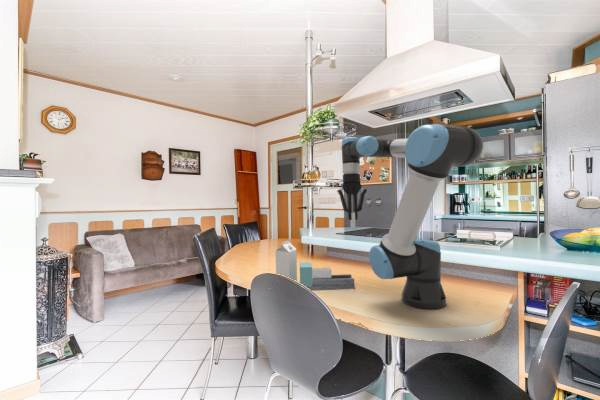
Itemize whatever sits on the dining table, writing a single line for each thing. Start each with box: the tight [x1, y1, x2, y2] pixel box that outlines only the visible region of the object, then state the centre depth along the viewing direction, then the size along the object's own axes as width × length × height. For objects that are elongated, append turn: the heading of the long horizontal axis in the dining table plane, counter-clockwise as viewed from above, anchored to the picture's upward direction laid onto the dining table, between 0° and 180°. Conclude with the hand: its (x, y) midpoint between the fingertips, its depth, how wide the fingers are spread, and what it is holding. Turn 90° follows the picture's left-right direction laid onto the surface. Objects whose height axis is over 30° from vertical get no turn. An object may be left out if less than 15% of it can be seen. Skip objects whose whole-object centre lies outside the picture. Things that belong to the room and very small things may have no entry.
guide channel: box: [307, 273, 356, 291], centre depth 130 cm, size 9×23×4 cm, turn 91°
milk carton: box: [275, 240, 298, 282], centre depth 137 cm, size 7×7×19 cm
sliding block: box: [312, 267, 333, 284], centre depth 130 cm, size 4×12×6 cm, turn 91°
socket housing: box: [299, 261, 313, 287], centre depth 130 cm, size 9×5×8 cm, turn 1°
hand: (353, 227), depth 130 cm, fingers closed
